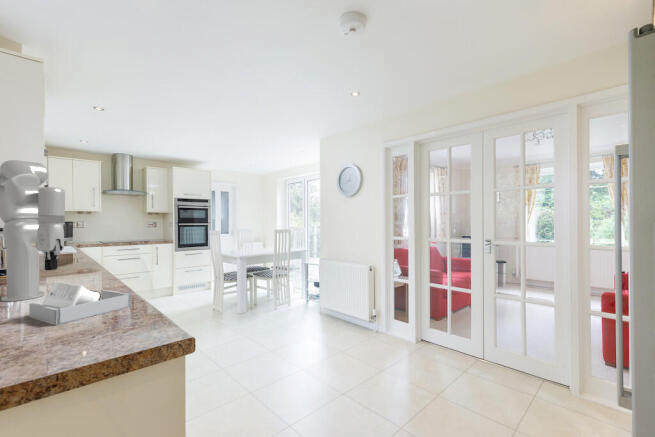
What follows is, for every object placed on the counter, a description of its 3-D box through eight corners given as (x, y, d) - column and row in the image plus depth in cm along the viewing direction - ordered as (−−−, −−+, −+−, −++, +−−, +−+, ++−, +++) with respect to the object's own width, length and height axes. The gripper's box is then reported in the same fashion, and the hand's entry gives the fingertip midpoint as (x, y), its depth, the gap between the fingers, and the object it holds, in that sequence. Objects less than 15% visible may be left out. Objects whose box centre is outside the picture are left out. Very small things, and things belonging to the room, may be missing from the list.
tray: (29, 317, 99) (29, 303, 99) (104, 301, 119) (104, 289, 119) (56, 325, 91) (56, 310, 91) (131, 306, 111) (131, 294, 111)
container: (61, 284, 105) (104, 292, 109) (49, 307, 101) (94, 314, 106) (54, 280, 98) (101, 289, 103) (41, 304, 95) (90, 313, 100)
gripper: (28, 220, 115) (28, 269, 115) (48, 221, 108) (48, 273, 108) (53, 220, 122) (53, 266, 122) (74, 221, 115) (73, 270, 115)
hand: (50, 269), depth 115 cm, fingers closed
